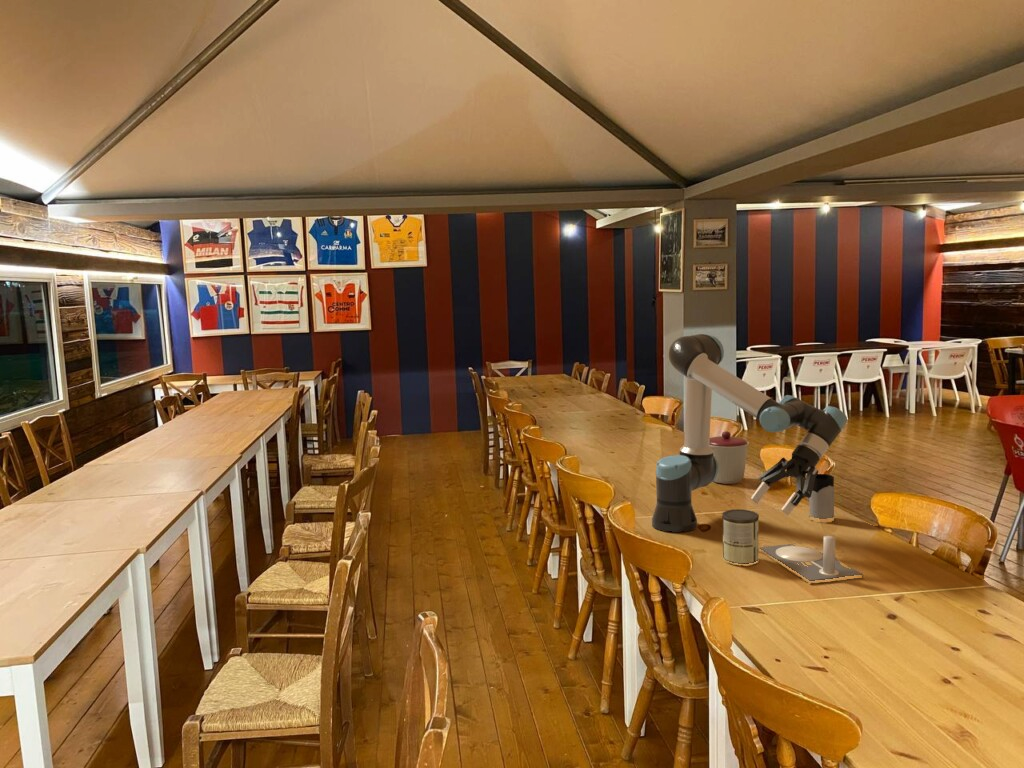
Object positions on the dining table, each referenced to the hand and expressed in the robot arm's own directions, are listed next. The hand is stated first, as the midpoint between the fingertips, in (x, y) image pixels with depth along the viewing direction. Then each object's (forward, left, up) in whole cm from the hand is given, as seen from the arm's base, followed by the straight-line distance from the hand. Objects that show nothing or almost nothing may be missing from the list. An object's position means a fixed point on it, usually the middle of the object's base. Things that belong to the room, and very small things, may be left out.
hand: (768, 506), depth 220 cm
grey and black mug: (+34, +30, -15) cm, 48 cm away
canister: (+27, +84, -15) cm, 89 cm away
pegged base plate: (+7, -9, -15) cm, 19 cm away
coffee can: (-10, -1, -15) cm, 18 cm away
